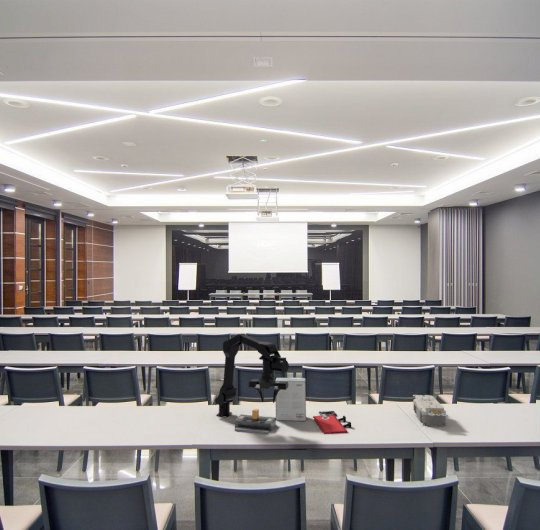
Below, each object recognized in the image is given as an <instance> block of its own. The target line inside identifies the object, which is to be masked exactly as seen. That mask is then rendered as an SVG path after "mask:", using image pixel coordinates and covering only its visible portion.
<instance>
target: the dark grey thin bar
mask: <svg viewBox="0 0 540 530" xmlns="http://www.w3.org/2000/svg"><path fill="white" fill-rule="evenodd" d="M234 431H235V432H243V433H250V434H251V433H254V434H262V435H268V434H269V431H268V430H263V429H253V428H243V427H235V426H234Z"/></svg>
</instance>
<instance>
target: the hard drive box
mask: <svg viewBox="0 0 540 530" xmlns="http://www.w3.org/2000/svg"><path fill="white" fill-rule="evenodd" d="M280 381H287V382H288V388H287V389H286V390H280V391H279V392H278V394H277V397H276V399H275V418H276V421H295V422H301V421H302V422H303V421H304V422H305V421H306V420H307V407H306V405H307V402H306V401H307V398H306V397H307V396H306V395H307V394H306V393H307V390H306V389H307V388H306V387H307V386H306V385H307V384H306V378H305V377H276V379H275V383H279V382H280Z"/></svg>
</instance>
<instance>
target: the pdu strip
mask: <svg viewBox="0 0 540 530" xmlns="http://www.w3.org/2000/svg"><path fill="white" fill-rule="evenodd" d="M276 425H277V420H276V417H272V416H260V415H259V418H258V419H252V414H251V415H250V414H240V415H238V417H237V418H235V419H234V428H235V427H243V428H253V429H263V430H268V432H272V431H273V429H274V428H275V427H276Z"/></svg>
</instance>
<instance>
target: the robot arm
mask: <svg viewBox="0 0 540 530" xmlns="http://www.w3.org/2000/svg"><path fill="white" fill-rule="evenodd" d="M242 345H245V346H248V347H250V348H253V349H254V350H256V351H257V352H258V353H259V354H260V355H261V356H260V357H259V358H258V359H259V360H260V361H262V372H261V378H260V379H258V378H252V379H251V380H249V381H248V385H247V387H248V388H254V390H257V392H258V394H259V396H260V399H261V402H262V403H264V401H265V394H264V393H265V390H264V389H266V390H269V389H270V387H272V388H273V387H274V388H273V395H272V396H273V397H272V403H276V397H277V394H278V392H279V391H280V390H286V389H287V388H288V382H287V381H280V382H279V383H275V381H276V379H275V374H276V372H280V373H283V374H284V373H287V372H288V370H289V368H290V367H289V366H290V364H289V362H288V360H287V357H281V354H280V351H278V349H277V347H276V344H275V343H273V342H269V341H261V340H259V339H257V338H254V337H252V336H249V335H247V334H246V333H238V334H236V335H235V336H233V337H231V338H230V339H228V340H224V341H223V343H222V352H223V355H224V357H225V358H224V371H223V381H222V382H223V383H222V385H221V386H220V389H219V392H218V395H217V396H216V398H214V403H215V404H216V405H218V412H217V414H216V416H217V417H227V418H228V417H229V416H231V415H232V414H233V412H232V411H231V407H230V406H231V403H233V402H234V400H235V397H236V396H237V387H235V386H234V373H235V360H236V356H237V354H238V353H239V348H240V346H242Z"/></svg>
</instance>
